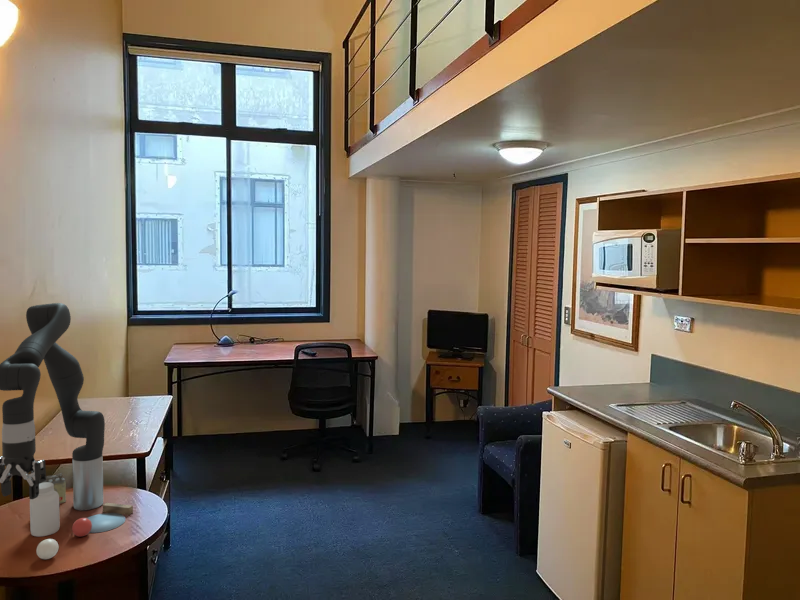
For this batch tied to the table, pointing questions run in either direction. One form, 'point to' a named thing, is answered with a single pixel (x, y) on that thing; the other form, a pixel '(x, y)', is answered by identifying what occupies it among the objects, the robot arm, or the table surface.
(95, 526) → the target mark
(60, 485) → the lighter
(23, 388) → the robot arm
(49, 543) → the cue ball
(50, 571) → the table surface
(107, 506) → the strip
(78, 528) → the red ball
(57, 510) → the pill bottle
